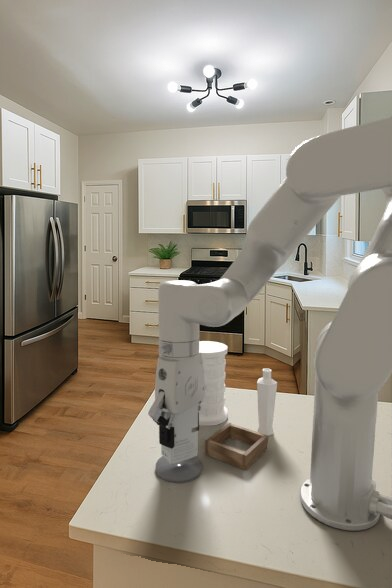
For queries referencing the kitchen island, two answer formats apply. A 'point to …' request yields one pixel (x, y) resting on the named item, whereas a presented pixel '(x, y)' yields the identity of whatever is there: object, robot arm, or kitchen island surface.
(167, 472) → the coaster
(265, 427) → the white faceted vase
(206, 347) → the decorative container
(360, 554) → the kitchen island surface
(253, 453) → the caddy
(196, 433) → the skincare box
